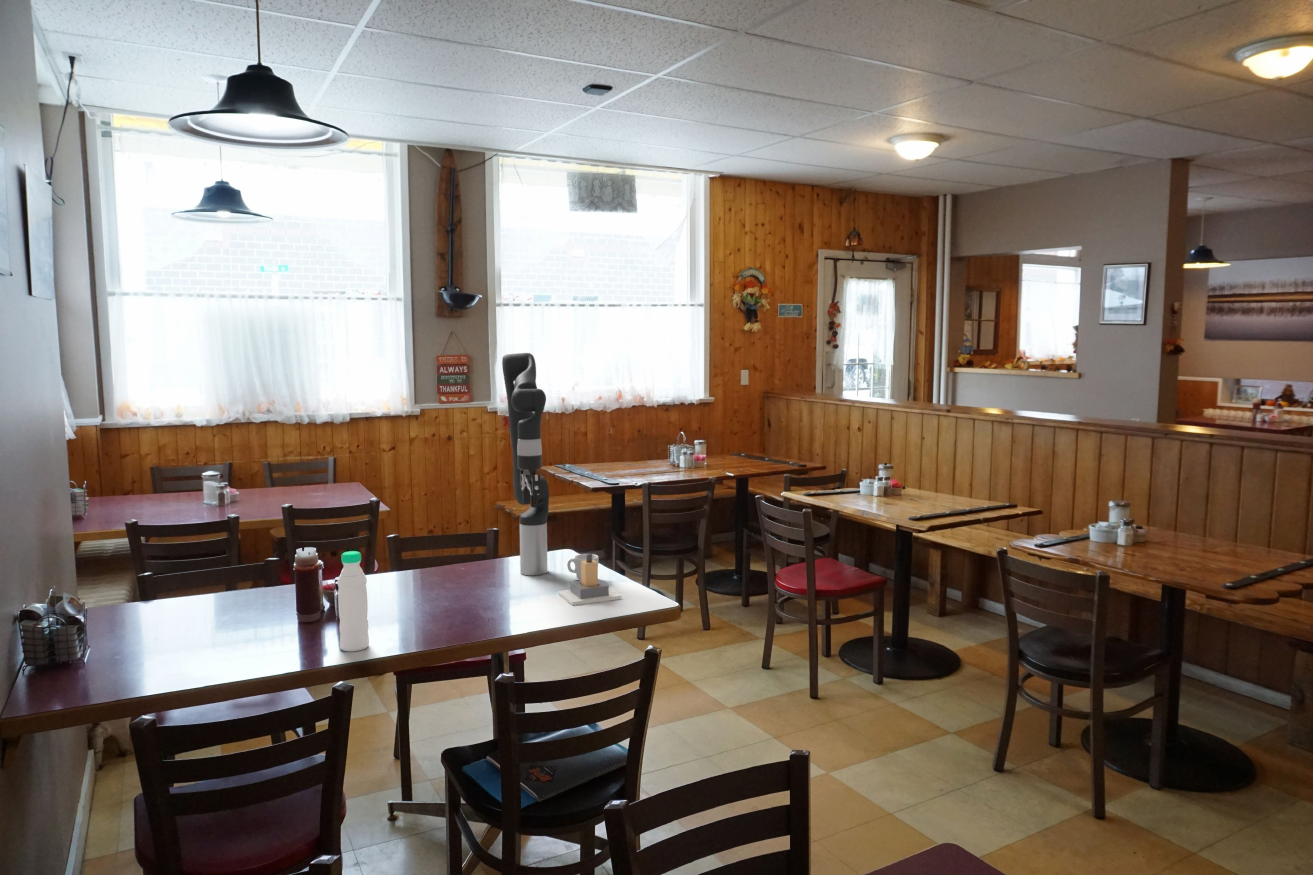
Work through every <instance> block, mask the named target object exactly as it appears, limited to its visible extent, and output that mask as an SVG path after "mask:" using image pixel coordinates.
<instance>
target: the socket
mask: <svg viewBox="0 0 1313 875" xmlns="http://www.w3.org/2000/svg"><path fill="white" fill-rule="evenodd" d="M569 586H570V589H566V590H565V589H564V590H558V591H557V595H558V594H559V595H558V596H559V597H561V598H562V599H563V600H565V601H566V602H567V603H568V602H569V603H568V604H569V605H571V606H577V605H576V604H579V605H587V604H593V603H602V602H609V601H615V600H621V599H622V595H621V594H619V593H618V592H617V591H615V590H614V589H612V588H611V587H610V586H609V585H607V584H606V583H605V582H604V581H602V580H600V579H599V578H598V585H597V586H589V587H584V586H582V585H581V581H579V580H577V581H570V584H569Z"/></svg>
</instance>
